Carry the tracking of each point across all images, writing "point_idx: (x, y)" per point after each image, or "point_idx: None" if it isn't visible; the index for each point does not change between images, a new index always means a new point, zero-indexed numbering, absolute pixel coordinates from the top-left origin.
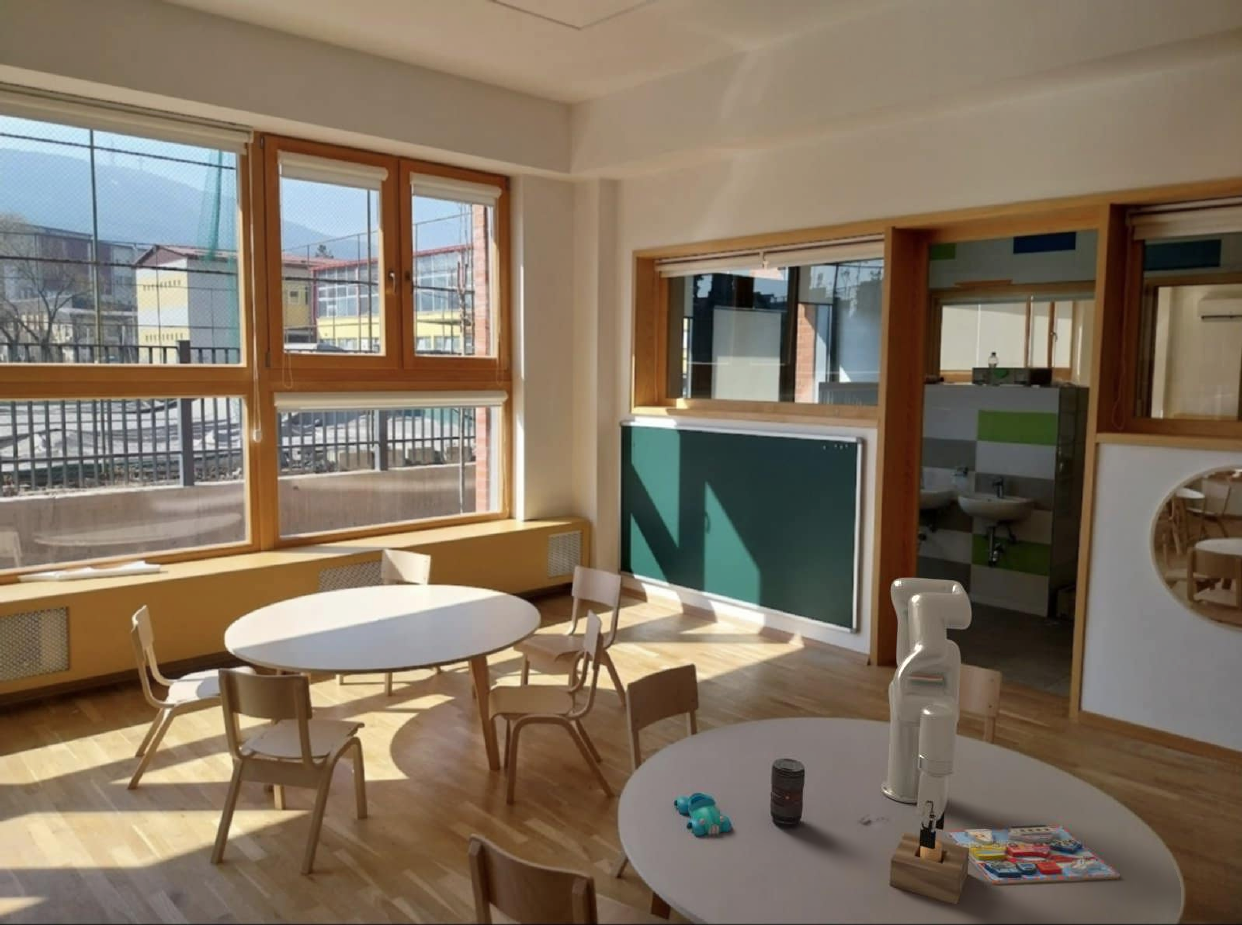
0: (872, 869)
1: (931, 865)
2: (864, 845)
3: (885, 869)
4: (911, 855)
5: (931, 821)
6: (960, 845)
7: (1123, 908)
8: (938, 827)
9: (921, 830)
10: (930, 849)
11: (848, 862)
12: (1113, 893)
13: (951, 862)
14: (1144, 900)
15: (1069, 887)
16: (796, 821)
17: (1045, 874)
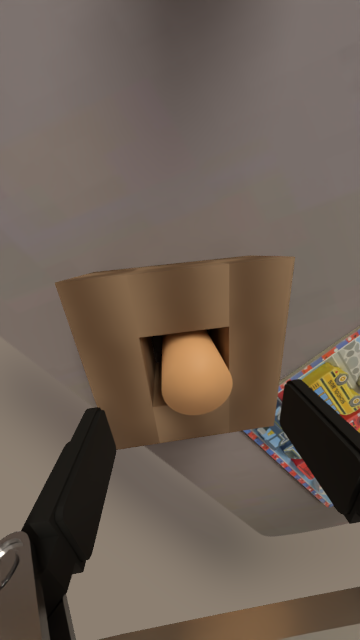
0: (134, 202)
1: (121, 391)
2: (254, 121)
3: (158, 235)
4: (137, 330)
5: (302, 409)
6: (344, 344)
7: (255, 515)
8: (283, 417)
9: (44, 505)
10: (162, 394)
11: (120, 108)
12: (284, 504)
13: (175, 419)
14: (283, 521)
15: (276, 477)
16: None
17: (292, 460)
